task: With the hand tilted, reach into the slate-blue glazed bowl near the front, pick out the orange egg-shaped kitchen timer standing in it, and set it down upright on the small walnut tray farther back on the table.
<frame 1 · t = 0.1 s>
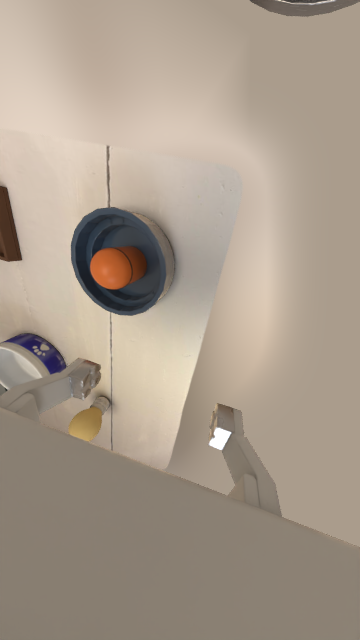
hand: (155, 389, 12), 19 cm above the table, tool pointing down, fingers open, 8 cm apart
glazed bowl: (133, 263, 28), on the table
dog bowl: (41, 358, 45), on the table
light bulb: (104, 399, 46), on the table
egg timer: (131, 263, 28), point 1 cm above the table, touching glazed bowl
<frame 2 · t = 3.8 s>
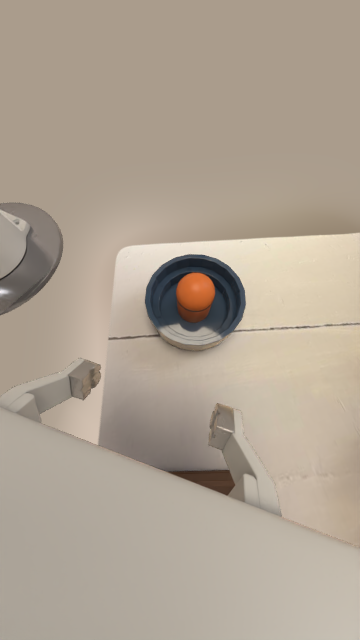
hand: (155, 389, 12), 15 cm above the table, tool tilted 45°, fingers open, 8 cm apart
tray: (196, 528, 21), on the table
glazed bowl: (193, 309, 30), on the table
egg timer: (193, 307, 29), point 1 cm above the table, touching glazed bowl
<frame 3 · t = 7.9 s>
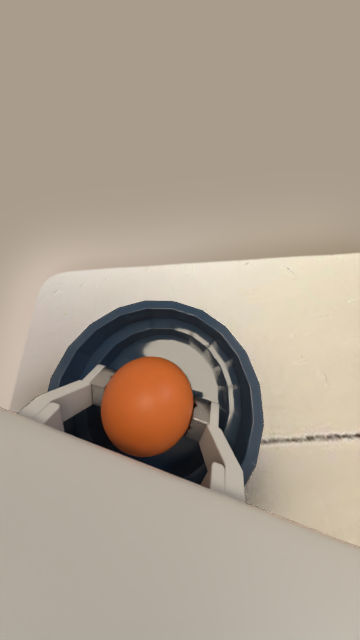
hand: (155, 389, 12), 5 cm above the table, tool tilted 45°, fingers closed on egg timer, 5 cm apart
glazed bowl: (161, 393, 16), on the table
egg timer: (160, 394, 16), point 1 cm above the table, touching glazed bowl, gripper
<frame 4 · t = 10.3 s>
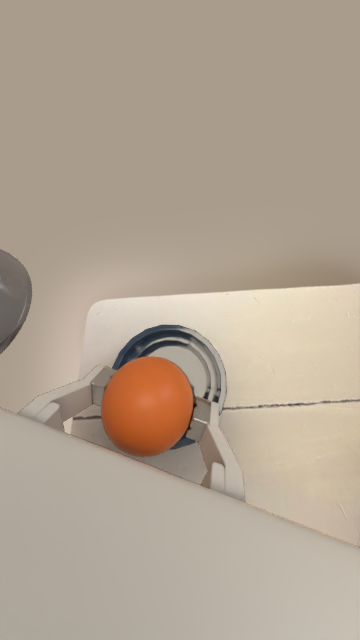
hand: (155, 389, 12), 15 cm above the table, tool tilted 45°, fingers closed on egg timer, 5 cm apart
glazed bowl: (170, 380, 26), on the table
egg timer: (160, 394, 16), point 11 cm above the table, touching gripper
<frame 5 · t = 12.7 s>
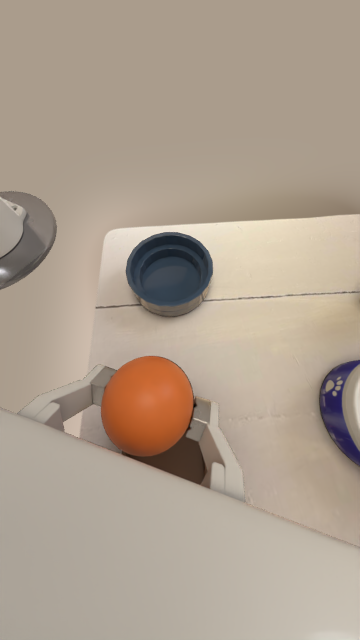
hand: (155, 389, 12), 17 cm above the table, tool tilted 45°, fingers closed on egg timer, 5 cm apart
tray: (166, 458, 25), on the table
glazed bowl: (171, 282, 33), on the table
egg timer: (160, 394, 16), point 13 cm above the table, touching gripper
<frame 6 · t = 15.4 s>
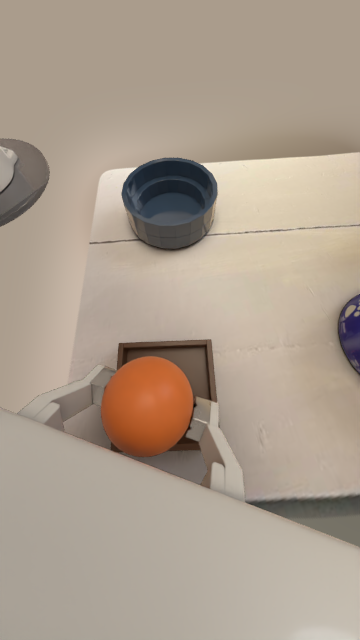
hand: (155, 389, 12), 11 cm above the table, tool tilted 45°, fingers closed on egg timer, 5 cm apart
tray: (167, 389, 22), on the table
glazed bowl: (171, 218, 31), on the table
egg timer: (160, 394, 16), point 7 cm above the table, touching gripper
when the fingers open (5 cm above the table, at t = 17.6 s): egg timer stays where it is, resting on tray.
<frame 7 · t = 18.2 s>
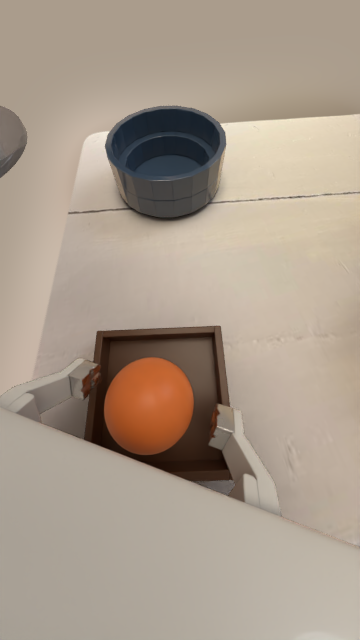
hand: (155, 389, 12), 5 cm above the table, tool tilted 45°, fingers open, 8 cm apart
tray: (161, 393, 16), on the table
glazed bowl: (169, 184, 25), on the table
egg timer: (161, 394, 16), point 1 cm above the table, touching tray
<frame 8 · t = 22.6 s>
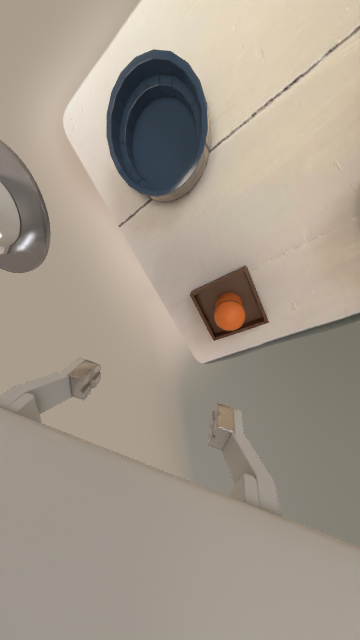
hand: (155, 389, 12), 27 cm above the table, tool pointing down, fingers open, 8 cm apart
tray: (228, 304, 36), on the table
glazed bowl: (165, 149, 28), on the table
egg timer: (228, 305, 35), point 1 cm above the table, touching tray
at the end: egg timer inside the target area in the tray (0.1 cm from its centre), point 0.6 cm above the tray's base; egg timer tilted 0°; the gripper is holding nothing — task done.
